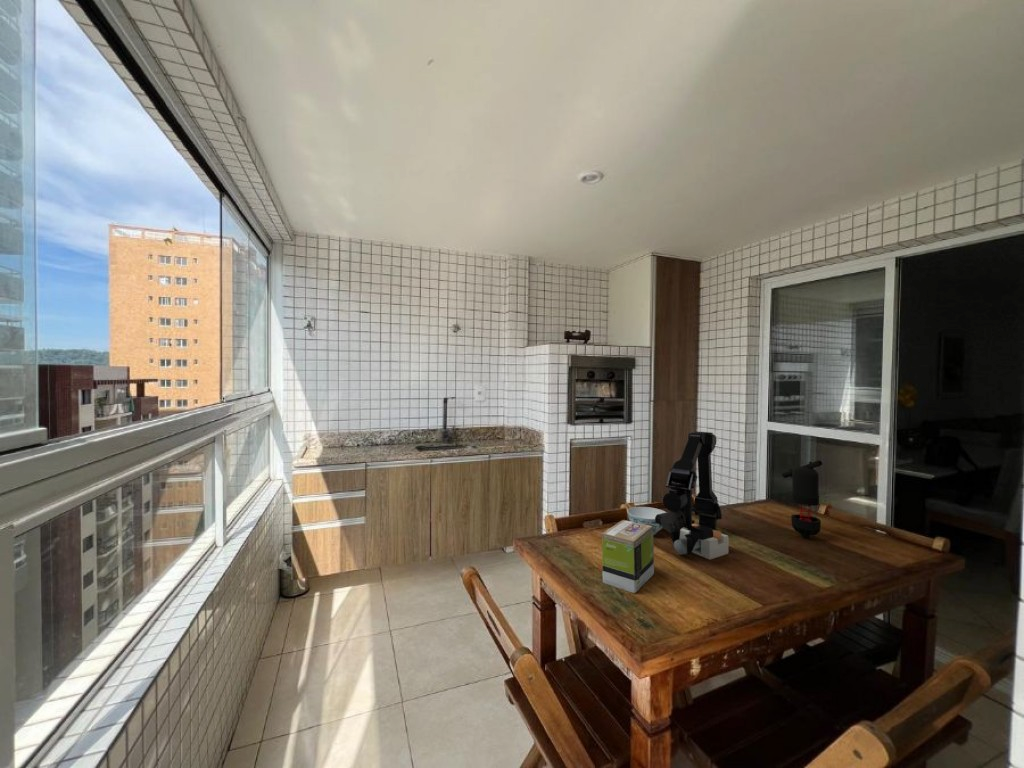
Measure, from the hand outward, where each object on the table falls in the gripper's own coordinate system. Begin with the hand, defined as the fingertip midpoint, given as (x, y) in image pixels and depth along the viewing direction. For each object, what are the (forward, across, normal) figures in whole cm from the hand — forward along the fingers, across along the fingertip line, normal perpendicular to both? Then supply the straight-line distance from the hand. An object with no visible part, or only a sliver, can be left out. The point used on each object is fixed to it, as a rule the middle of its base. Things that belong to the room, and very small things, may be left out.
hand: (682, 551), depth 132 cm
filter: (+2, +10, +54) cm, 55 cm away
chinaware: (+2, -21, +6) cm, 22 cm away
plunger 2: (-4, +4, +11) cm, 13 cm away
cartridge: (+1, 0, +6) cm, 6 cm away
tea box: (+2, +3, -28) cm, 28 cm away
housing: (+2, 0, +10) cm, 11 cm away
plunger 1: (-4, -4, +11) cm, 13 cm away
